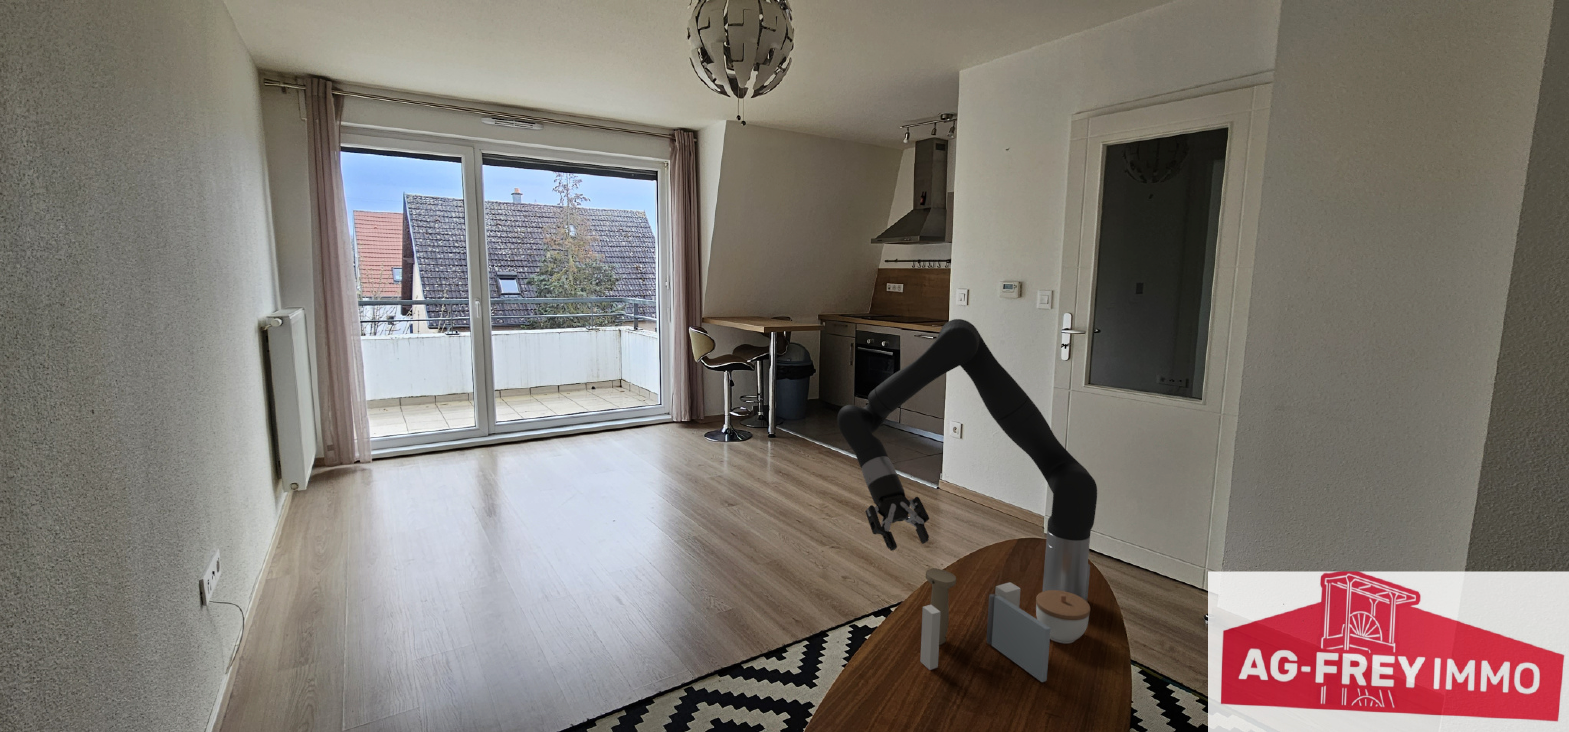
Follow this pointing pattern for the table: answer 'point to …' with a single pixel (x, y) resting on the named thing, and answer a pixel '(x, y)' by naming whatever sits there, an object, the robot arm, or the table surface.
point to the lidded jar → (1063, 614)
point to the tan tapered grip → (941, 596)
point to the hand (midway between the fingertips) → (910, 545)
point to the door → (1018, 636)
